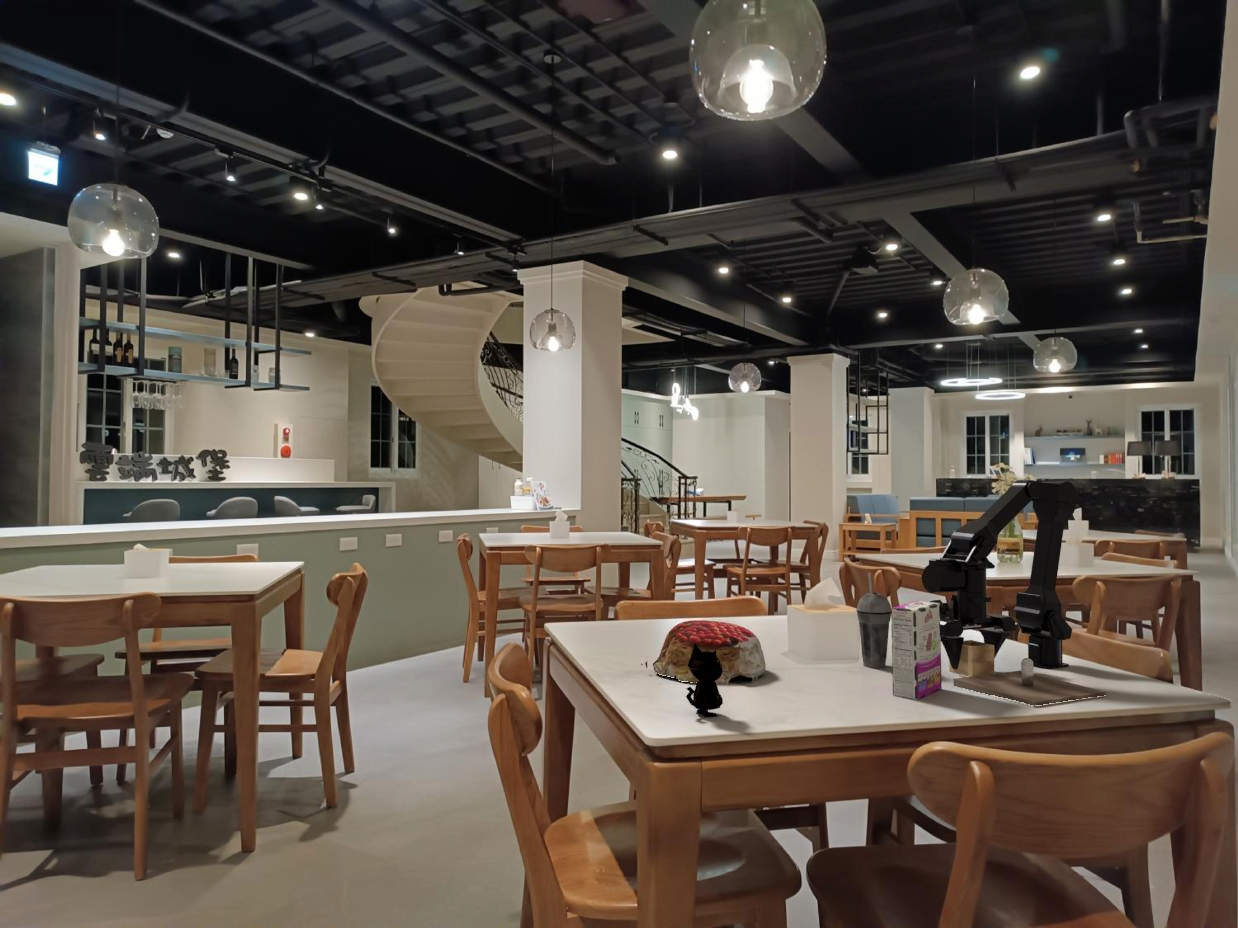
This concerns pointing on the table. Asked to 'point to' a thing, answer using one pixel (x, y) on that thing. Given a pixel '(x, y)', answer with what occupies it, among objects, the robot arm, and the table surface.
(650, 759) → the table surface
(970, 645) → the oak collar
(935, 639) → the candy bar box
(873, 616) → the beverage cup
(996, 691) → the pin board
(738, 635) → the cake
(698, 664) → the cat figurine
